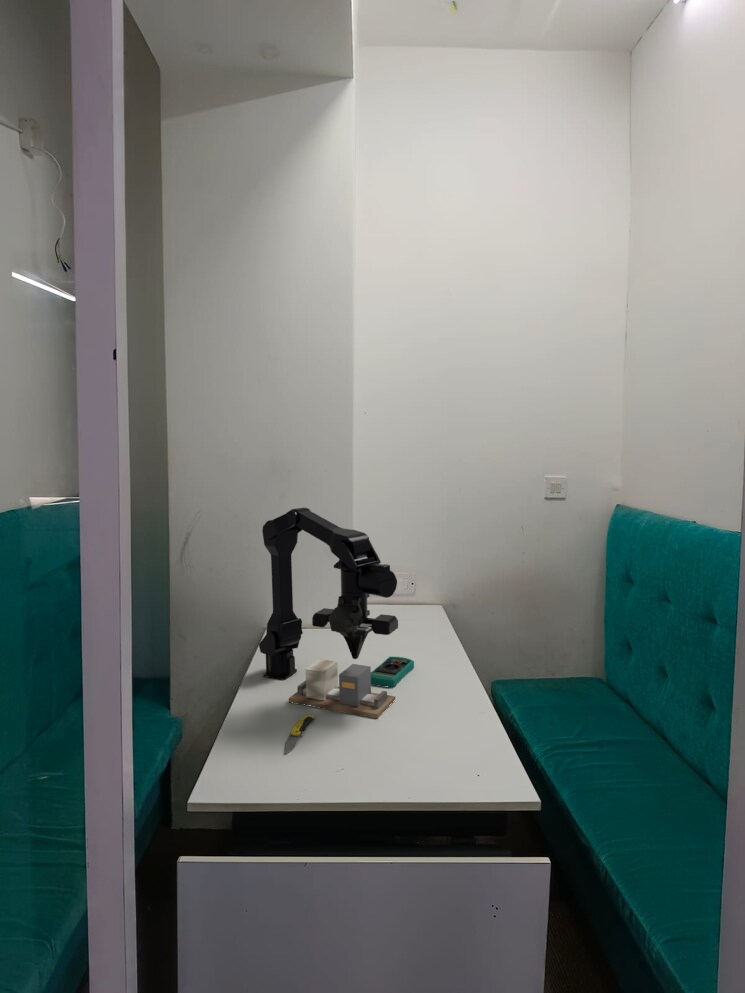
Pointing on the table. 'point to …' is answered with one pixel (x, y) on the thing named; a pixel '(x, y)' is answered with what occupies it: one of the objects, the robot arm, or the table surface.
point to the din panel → (335, 692)
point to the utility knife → (297, 732)
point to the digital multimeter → (391, 671)
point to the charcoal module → (354, 684)
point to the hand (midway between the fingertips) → (355, 658)
